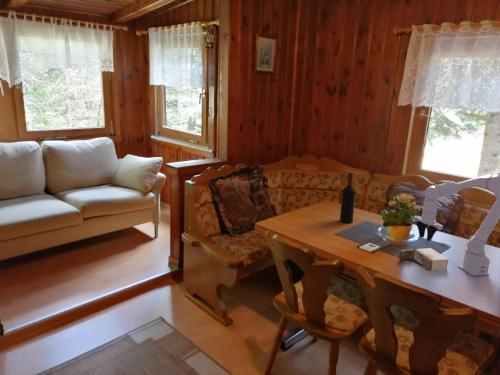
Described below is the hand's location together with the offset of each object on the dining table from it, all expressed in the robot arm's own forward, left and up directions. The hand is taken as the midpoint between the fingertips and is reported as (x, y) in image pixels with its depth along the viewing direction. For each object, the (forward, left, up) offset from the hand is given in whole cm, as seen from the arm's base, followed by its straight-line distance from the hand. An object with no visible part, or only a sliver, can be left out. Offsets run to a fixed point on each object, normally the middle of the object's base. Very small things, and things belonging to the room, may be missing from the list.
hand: (425, 238), depth 174 cm
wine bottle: (+52, +15, -10) cm, 55 cm away
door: (-1, +9, -9) cm, 13 cm away
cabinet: (-7, +1, -9) cm, 12 cm away
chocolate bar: (+16, +16, -10) cm, 25 cm away
